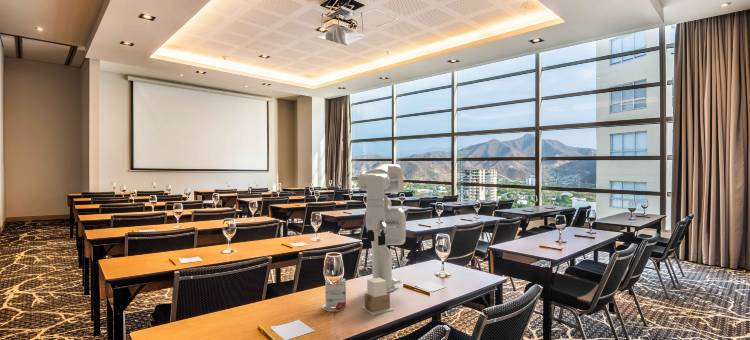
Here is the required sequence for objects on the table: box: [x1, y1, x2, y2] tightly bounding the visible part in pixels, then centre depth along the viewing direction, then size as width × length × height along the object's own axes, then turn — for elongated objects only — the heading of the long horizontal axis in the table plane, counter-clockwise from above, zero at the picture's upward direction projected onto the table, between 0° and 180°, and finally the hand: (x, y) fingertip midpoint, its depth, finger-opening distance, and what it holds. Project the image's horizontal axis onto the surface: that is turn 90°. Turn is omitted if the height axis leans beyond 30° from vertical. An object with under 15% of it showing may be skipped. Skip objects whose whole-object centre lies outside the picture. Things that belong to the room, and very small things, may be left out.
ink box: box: [324, 278, 347, 309], centre depth 174 cm, size 8×5×12 cm, turn 89°
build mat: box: [361, 305, 394, 316], centre depth 170 cm, size 10×10×1 cm
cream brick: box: [366, 277, 386, 297], centre depth 170 cm, size 6×6×6 cm
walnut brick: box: [364, 292, 391, 312], centre depth 170 cm, size 6×9×6 cm, turn 121°
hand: (376, 243), depth 170 cm, fingers open, 9 cm apart
